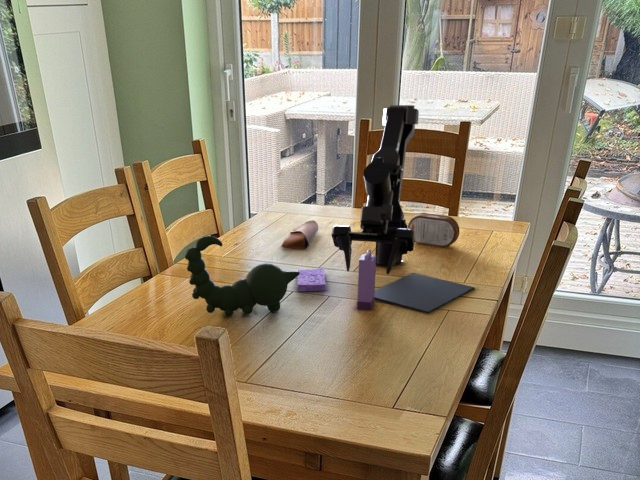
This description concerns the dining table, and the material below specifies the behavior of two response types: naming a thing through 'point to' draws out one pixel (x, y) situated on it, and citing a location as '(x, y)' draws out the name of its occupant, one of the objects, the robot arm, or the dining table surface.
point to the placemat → (421, 292)
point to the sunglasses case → (301, 236)
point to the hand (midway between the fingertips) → (367, 271)
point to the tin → (434, 229)
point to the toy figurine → (237, 284)
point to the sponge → (311, 280)
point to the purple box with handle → (366, 281)
